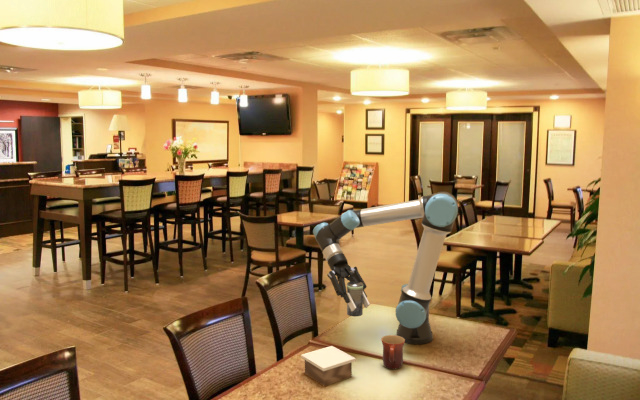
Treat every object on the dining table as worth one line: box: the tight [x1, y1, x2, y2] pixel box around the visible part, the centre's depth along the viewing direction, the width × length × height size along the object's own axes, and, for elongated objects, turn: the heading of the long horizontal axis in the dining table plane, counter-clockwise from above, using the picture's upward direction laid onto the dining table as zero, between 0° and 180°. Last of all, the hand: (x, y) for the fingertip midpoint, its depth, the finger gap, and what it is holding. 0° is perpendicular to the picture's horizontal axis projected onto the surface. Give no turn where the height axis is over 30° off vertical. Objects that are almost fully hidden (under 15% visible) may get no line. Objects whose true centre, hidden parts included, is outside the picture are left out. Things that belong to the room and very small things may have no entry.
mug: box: [380, 334, 405, 370], centre depth 190 cm, size 12×9×10 cm
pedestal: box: [300, 345, 357, 387], centre depth 184 cm, size 14×14×7 cm
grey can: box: [346, 281, 364, 317], centre depth 198 cm, size 6×6×12 cm
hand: (360, 307), depth 195 cm, fingers closed on grey can, 6 cm apart
